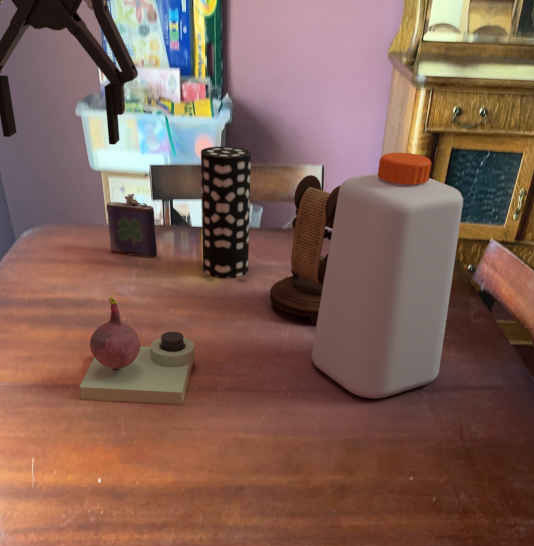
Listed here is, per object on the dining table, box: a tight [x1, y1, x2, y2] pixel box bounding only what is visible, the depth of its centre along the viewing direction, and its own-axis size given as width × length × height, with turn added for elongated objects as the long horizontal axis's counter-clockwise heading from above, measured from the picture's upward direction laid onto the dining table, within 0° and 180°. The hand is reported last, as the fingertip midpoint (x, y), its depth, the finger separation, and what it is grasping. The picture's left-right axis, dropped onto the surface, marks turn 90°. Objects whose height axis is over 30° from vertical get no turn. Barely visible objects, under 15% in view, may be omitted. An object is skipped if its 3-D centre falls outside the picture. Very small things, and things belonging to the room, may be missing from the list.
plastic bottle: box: [311, 152, 464, 399], centre depth 87 cm, size 15×15×28 cm
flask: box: [105, 193, 158, 259], centre depth 126 cm, size 9×3×11 cm, turn 76°
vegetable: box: [89, 296, 141, 370], centre depth 86 cm, size 6×6×10 cm
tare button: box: [160, 331, 184, 352], centre depth 91 cm, size 3×3×2 cm
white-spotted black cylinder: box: [200, 146, 252, 279], centre depth 118 cm, size 8×8×20 cm
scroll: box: [269, 174, 341, 326], centre depth 106 cm, size 15×15×20 cm
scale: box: [79, 336, 196, 406], centre depth 90 cm, size 13×12×4 cm
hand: (62, 138), depth 88 cm, fingers open, 13 cm apart
